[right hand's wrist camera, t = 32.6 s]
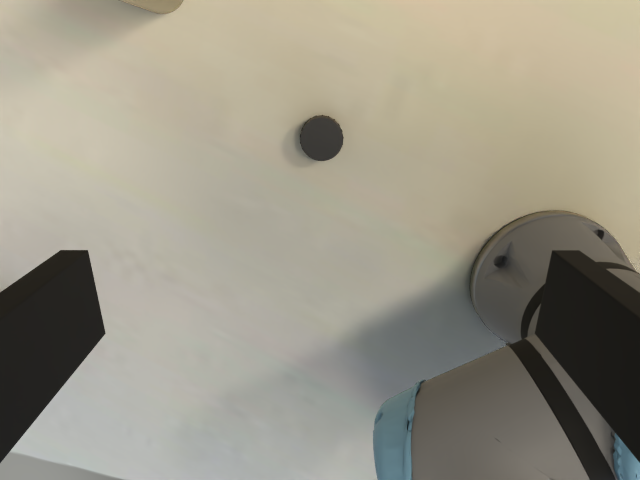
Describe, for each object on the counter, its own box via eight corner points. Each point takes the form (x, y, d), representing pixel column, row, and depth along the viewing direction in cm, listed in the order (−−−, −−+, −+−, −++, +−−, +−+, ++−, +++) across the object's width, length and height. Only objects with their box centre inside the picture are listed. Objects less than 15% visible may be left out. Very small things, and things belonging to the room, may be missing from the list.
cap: (313, 164, 42) (312, 169, 41) (292, 127, 41) (291, 130, 39) (349, 145, 42) (351, 148, 40) (330, 107, 40) (330, 108, 39)
